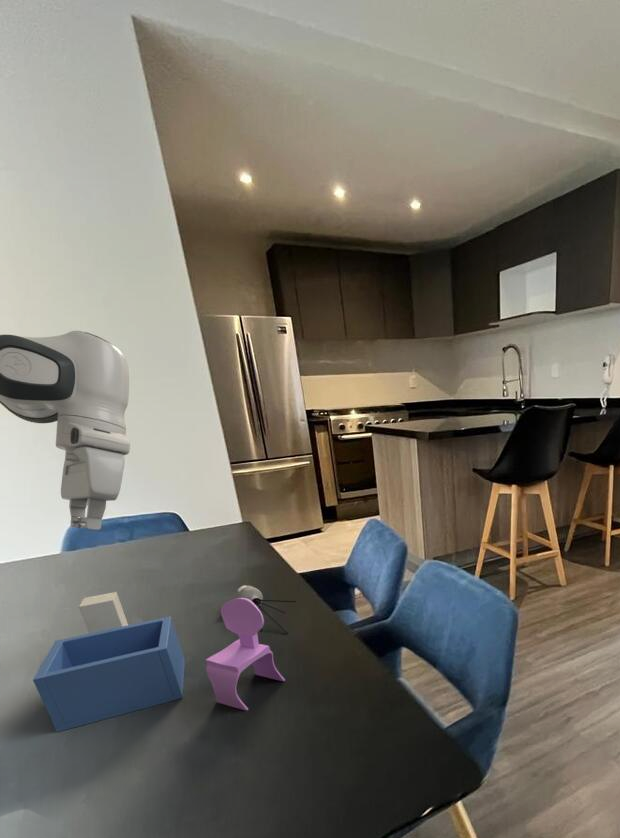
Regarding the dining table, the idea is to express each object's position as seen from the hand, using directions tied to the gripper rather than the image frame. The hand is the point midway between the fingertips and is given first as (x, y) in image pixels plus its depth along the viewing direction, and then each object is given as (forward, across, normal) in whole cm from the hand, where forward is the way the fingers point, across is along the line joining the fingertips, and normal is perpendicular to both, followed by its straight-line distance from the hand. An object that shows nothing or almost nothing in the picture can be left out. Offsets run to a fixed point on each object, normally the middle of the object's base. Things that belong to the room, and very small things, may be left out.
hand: (84, 528), depth 79 cm
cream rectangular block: (+23, -7, +8) cm, 25 cm away
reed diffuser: (+15, +2, +30) cm, 34 cm away
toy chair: (+23, +24, +18) cm, 38 cm away
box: (+26, +8, +6) cm, 27 cm away
